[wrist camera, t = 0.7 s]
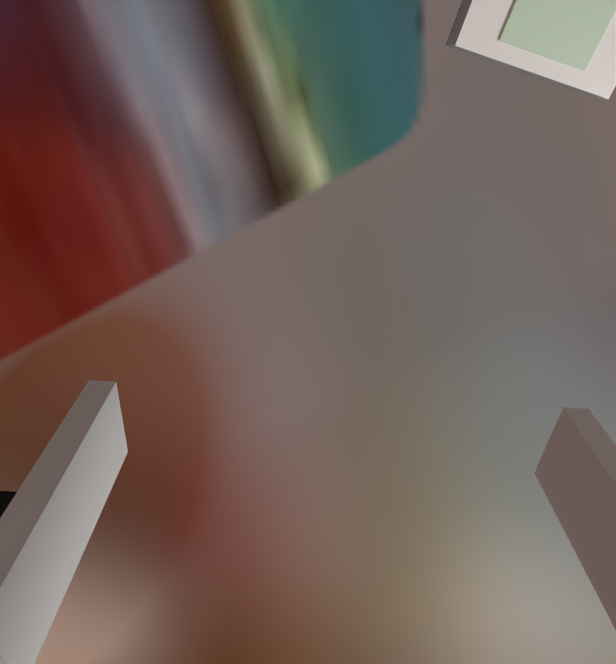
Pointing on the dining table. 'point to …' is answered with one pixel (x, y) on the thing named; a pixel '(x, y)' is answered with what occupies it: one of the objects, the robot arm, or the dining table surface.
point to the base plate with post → (544, 39)
